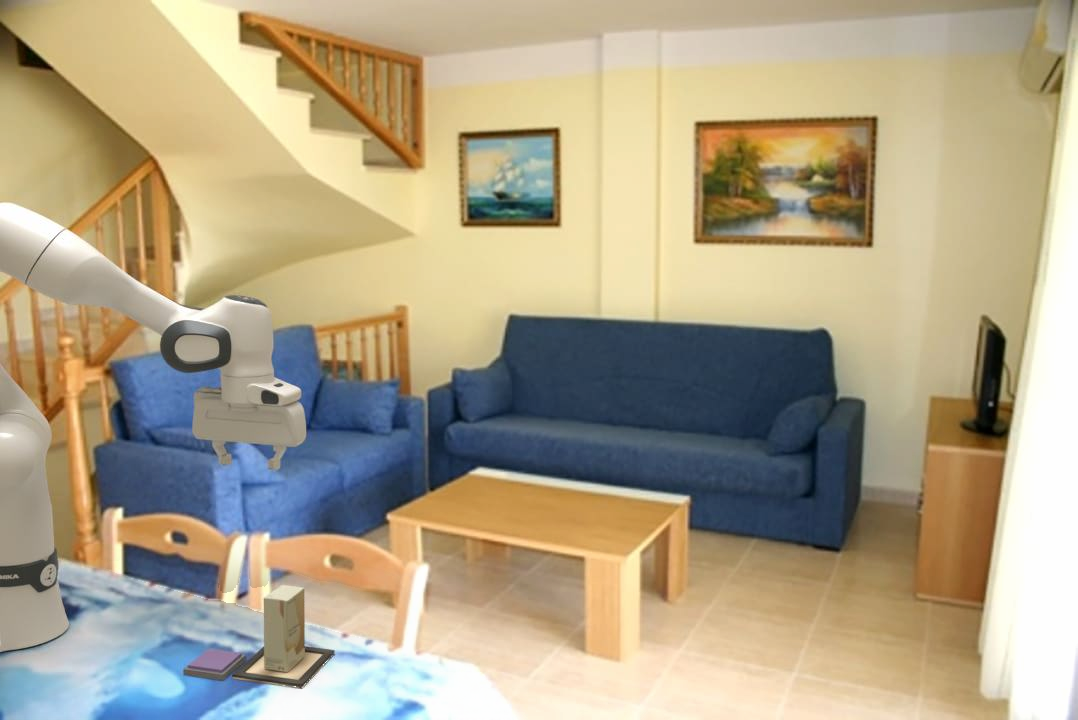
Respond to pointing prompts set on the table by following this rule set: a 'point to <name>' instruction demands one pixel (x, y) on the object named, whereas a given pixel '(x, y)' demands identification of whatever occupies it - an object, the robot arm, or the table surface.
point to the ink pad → (215, 664)
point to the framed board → (293, 677)
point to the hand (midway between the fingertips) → (249, 466)
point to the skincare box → (284, 628)
